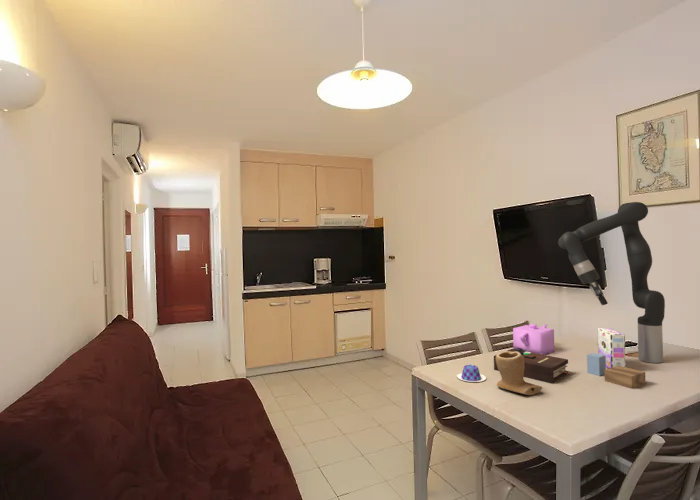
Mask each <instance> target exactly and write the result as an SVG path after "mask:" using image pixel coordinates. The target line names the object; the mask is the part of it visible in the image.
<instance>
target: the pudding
mask: <svg viewBox="0 0 700 500" xmlns="http://www.w3.org/2000/svg"><path fill="white" fill-rule="evenodd" d="M456 378H457V379H459V380H461V381H464V382H470V383H478V382H479V383H480V382H484V381H485V380H486V379H487V377H486V376H485V375H483V374H481V373H480V369H479V367H478V366H477V365H474V364H466V365H464V366H463V369H462V372H460V373H458V374H457V375H456Z"/></svg>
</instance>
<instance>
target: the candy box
mask: <svg viewBox="0 0 700 500" xmlns="http://www.w3.org/2000/svg"><path fill="white" fill-rule="evenodd" d="M597 344H598V346H597V349H598V354H601V355H606V369H608V368H612V367H615V366H622V367H626V335H625V334H624V333H622V332H619V331H617V330H615V329H613V328H610V327H609V328H608V327H607V328H606V327H597Z"/></svg>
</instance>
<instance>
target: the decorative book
mask: <svg viewBox="0 0 700 500" xmlns="http://www.w3.org/2000/svg"><path fill="white" fill-rule="evenodd" d="M518 349H519V350H518ZM518 349H513V348H509V349H507V351H510V352H514V351H517V352H519V353H520V354H521V355H522V356H523V358H524V374H523V378H527V379H530V380H535V381H538V382H543V383H546V384H547V383H548V384H551V385H553V384H555V383H556V382H557V381H559V380H560V379H563V378H564V377H566V376H567V375H569V371H568V370H566V369H567V367H568V365H567V364H569V359H567V358H562V357H557V356H556V357H555V356H552V355H548V354H545V355H542V354H537V353H531V352H526V351H525V350H524V349H521V348H518ZM496 355H497V354H495V355H493V361H492V362H493V370H494V371H498V372H499V370H498V367H497V364H496Z"/></svg>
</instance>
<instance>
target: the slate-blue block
mask: <svg viewBox="0 0 700 500" xmlns="http://www.w3.org/2000/svg"><path fill="white" fill-rule="evenodd" d="M586 367H587V368H586V370H587V371H586V373H587V374H590V375H594V376H598V377H601V376H605V369H607V368H606V355H601V354H599V353H596V352H592V353H588V354H586Z"/></svg>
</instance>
